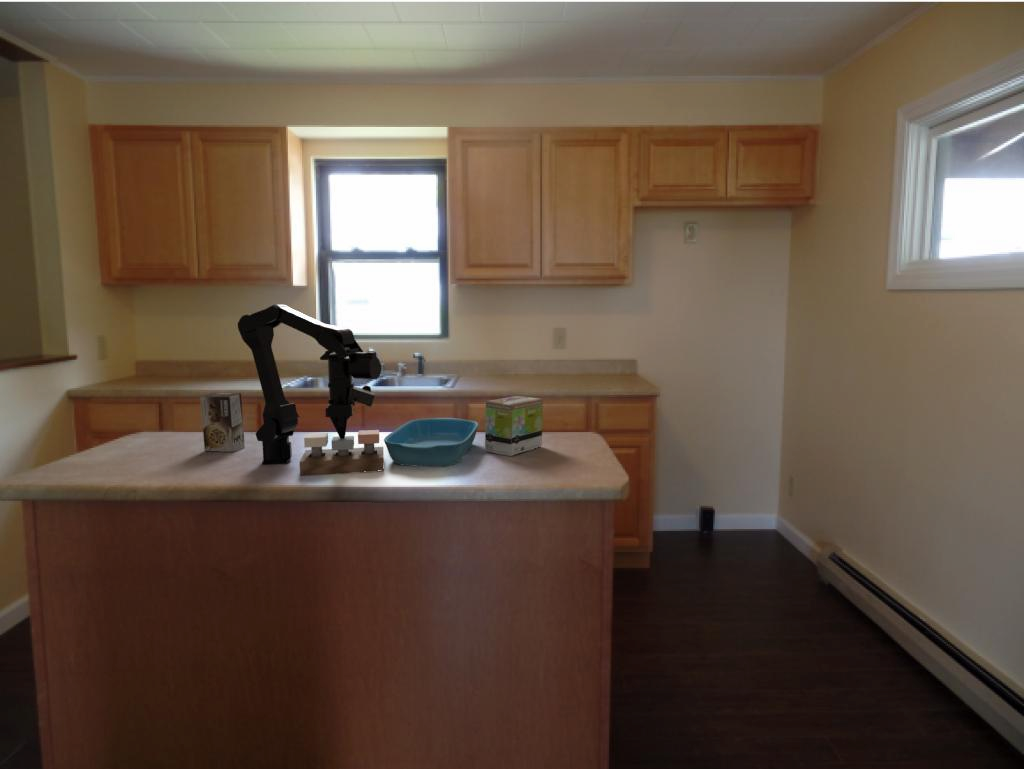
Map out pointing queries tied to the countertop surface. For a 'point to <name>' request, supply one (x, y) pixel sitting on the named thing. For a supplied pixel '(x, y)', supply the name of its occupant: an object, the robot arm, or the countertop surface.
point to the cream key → (316, 443)
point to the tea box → (513, 425)
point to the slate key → (343, 445)
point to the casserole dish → (431, 441)
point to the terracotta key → (368, 440)
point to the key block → (341, 462)
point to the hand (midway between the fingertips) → (342, 438)
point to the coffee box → (222, 422)
